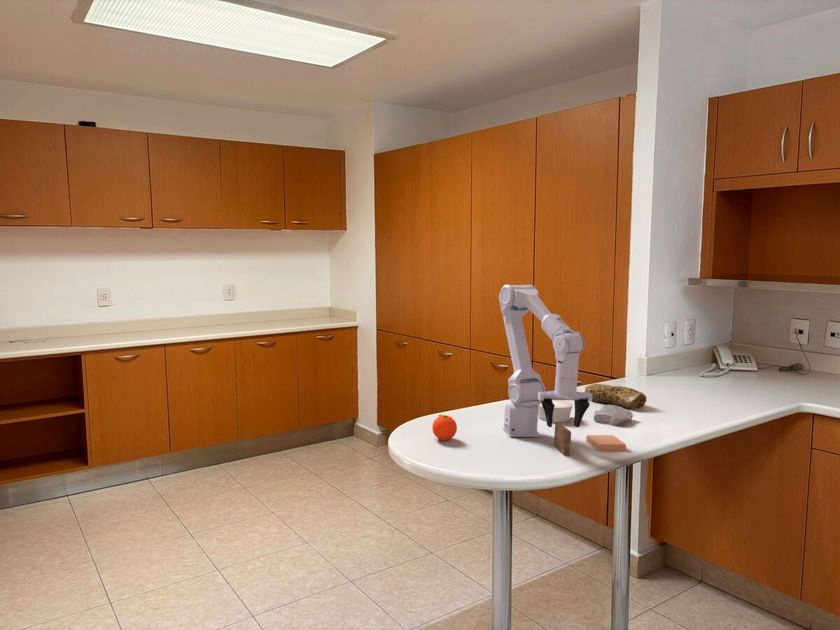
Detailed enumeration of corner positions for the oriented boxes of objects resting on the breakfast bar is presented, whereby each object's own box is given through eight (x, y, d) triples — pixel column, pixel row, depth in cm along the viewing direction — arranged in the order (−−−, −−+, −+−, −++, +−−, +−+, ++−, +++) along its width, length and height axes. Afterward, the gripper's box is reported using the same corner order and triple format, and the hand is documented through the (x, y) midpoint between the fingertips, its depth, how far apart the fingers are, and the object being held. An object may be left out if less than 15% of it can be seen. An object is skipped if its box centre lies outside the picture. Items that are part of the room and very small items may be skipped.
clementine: (426, 435, 174) (427, 411, 173) (447, 433, 176) (448, 409, 176) (438, 444, 166) (439, 419, 166) (460, 442, 169) (461, 417, 168)
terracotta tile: (598, 444, 166) (625, 444, 167) (586, 435, 174) (613, 435, 175) (597, 452, 166) (625, 452, 167) (585, 442, 174) (612, 442, 175)
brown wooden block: (563, 455, 161) (565, 432, 161) (553, 445, 169) (555, 423, 168) (569, 455, 162) (571, 432, 161) (559, 445, 169) (560, 423, 169)
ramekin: (529, 418, 195) (530, 402, 194) (545, 412, 204) (546, 396, 203) (561, 426, 188) (562, 409, 187) (577, 419, 197) (578, 403, 196)
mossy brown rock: (647, 411, 215) (603, 387, 230) (650, 391, 212) (605, 368, 227) (622, 422, 208) (578, 397, 224) (625, 402, 205) (580, 378, 221)
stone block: (633, 425, 198) (604, 413, 204) (637, 412, 197) (608, 400, 203) (620, 435, 189) (590, 422, 195) (624, 421, 188) (594, 408, 193)
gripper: (545, 380, 158) (541, 430, 160) (598, 380, 160) (594, 430, 162) (536, 374, 165) (533, 422, 167) (588, 374, 167) (584, 422, 168)
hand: (562, 426), depth 165 cm, fingers open, 7 cm apart
